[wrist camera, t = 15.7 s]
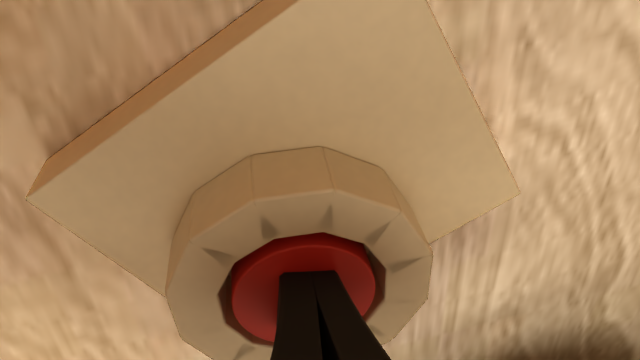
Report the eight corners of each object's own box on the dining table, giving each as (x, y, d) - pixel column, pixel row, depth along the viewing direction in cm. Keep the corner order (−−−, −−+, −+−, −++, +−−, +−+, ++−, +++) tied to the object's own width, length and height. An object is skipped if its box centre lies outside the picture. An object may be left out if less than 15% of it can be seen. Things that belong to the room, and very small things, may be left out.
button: (282, 311, 15) (287, 362, 13) (203, 245, 13) (199, 297, 11) (383, 254, 14) (400, 301, 13) (315, 175, 12) (327, 221, 11)
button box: (251, 318, 17) (255, 411, 15) (46, 160, 13) (-8, 253, 10) (502, 176, 15) (564, 253, 12) (372, -82, 10) (424, -51, 8)
